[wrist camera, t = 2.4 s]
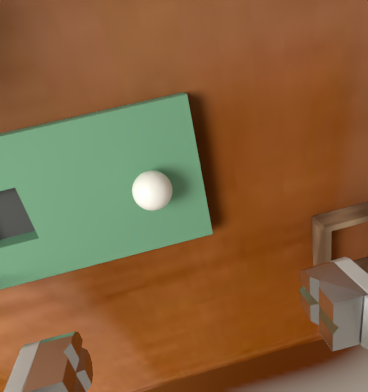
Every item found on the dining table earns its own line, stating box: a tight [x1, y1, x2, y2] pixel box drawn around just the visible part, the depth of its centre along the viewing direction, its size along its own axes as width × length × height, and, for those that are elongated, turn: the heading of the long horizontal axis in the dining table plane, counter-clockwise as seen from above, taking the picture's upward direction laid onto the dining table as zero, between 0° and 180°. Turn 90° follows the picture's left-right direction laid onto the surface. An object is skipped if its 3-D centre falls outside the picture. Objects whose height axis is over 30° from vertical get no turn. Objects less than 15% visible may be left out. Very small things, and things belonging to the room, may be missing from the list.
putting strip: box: [0, 92, 213, 289], centre depth 32 cm, size 28×16×2 cm, turn 101°
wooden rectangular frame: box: [312, 202, 368, 274], centre depth 41 cm, size 13×10×3 cm
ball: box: [132, 170, 172, 211], centre depth 30 cm, size 4×4×4 cm
